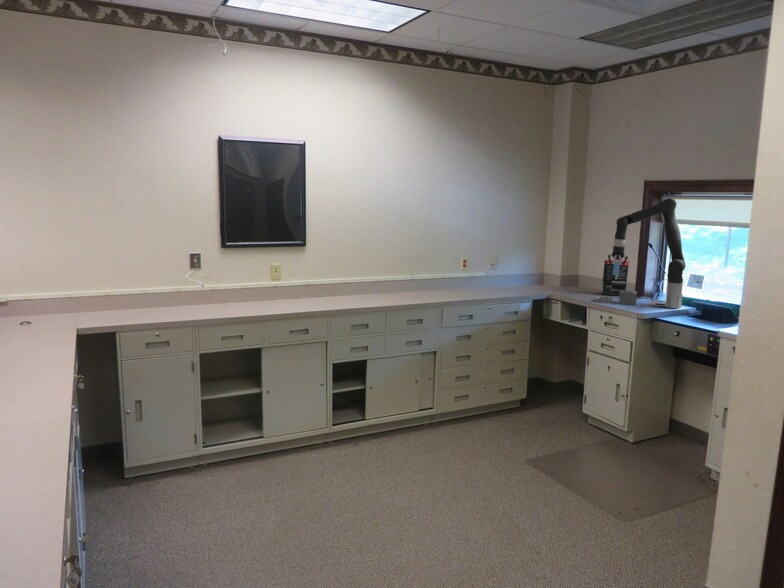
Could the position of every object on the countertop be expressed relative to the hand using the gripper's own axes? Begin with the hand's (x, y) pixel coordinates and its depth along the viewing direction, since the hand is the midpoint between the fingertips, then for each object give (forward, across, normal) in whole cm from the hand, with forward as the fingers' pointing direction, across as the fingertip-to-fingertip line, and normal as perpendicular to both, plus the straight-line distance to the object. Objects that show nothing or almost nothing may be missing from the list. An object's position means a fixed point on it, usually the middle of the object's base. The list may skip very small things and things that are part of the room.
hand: (616, 269), depth 406 cm
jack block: (+24, -2, +1) cm, 24 cm away
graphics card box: (+24, 0, -34) cm, 42 cm away
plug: (+4, 0, 0) cm, 4 cm away
